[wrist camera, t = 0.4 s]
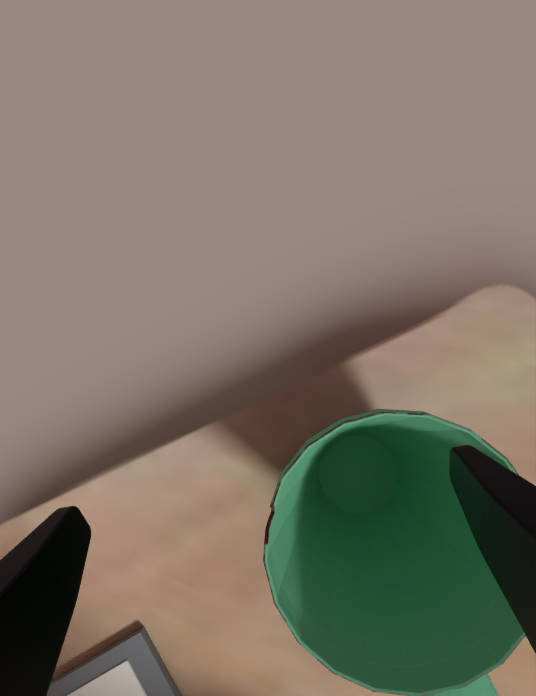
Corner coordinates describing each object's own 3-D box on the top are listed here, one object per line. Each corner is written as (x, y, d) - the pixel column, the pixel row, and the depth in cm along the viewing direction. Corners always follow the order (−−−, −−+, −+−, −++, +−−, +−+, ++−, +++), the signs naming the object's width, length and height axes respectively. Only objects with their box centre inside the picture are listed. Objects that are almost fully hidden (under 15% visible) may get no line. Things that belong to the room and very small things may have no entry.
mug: (251, 430, 24) (219, 475, 14) (396, 366, 23) (470, 366, 14) (350, 658, 23) (392, 883, 13) (505, 595, 22) (672, 778, 12)
